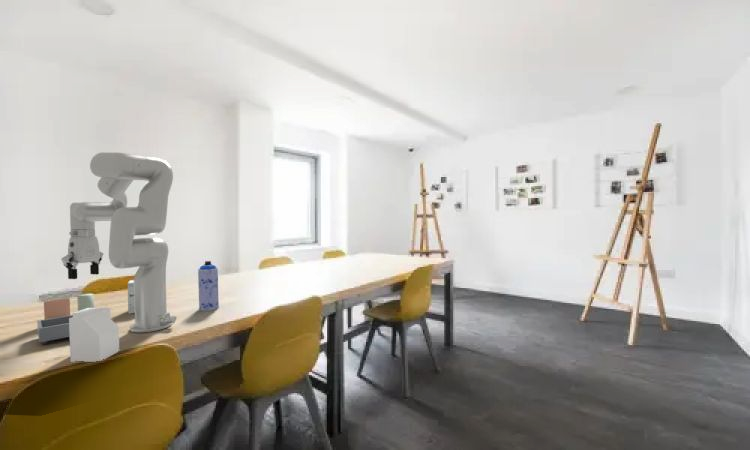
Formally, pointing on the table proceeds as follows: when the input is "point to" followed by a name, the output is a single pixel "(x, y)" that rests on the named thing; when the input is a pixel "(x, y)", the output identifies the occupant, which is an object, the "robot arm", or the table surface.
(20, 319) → the table surface
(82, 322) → the white angular block
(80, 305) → the part
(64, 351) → the table surface
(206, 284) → the aerosol can
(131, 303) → the supplement box
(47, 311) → the grey desk organizer
